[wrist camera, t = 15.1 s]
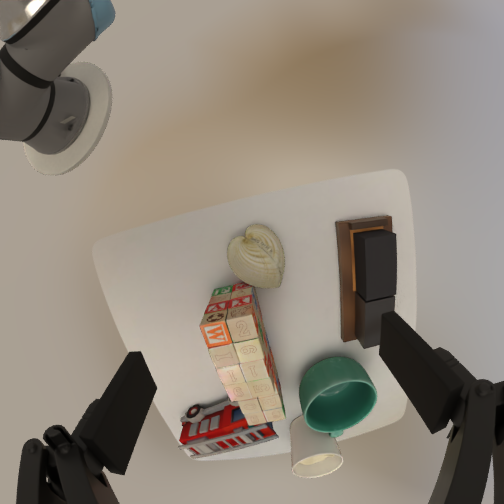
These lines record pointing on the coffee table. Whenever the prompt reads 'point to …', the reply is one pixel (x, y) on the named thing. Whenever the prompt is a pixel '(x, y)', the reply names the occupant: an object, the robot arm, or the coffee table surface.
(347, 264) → the brown wooden tray
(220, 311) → the stack of blocks
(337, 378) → the mug
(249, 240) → the seashell
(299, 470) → the candle holder
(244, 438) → the toy fire truck
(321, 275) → the coffee table surface
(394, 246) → the black block
